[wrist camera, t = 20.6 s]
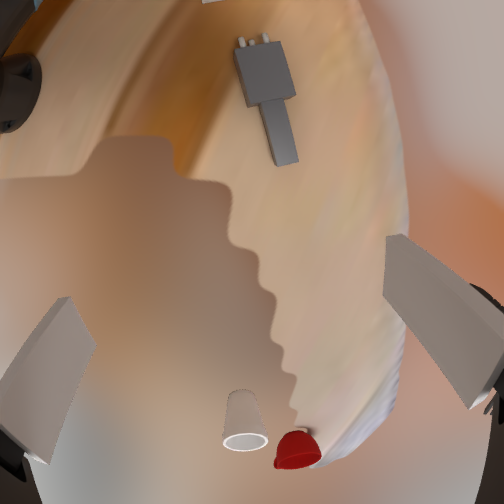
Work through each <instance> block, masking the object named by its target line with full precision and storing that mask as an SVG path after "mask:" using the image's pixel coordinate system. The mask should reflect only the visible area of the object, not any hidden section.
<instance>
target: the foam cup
mask: <svg viewBox="0 0 504 504" xmlns="http://www.w3.org/2000/svg"><path fill="white" fill-rule="evenodd" d="M222 436H223V445H224V446H225V447H226V448H228V449H231V450H235V451H252V450H256V449H260V448H262V447H264V446H265V445H266V444H267V443H268V435H267V431H266V429H265V427H264V424H263V421H262V417H261V414H260V411H259V407H258V404H257V401H256V398H255V395H254V393H253V392H251V391H249V390H236V391H234V392H232V393H231V394H230V395H229V397H228V404H227V411H226V419H225V426H224V432H223V435H222Z"/></svg>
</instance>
